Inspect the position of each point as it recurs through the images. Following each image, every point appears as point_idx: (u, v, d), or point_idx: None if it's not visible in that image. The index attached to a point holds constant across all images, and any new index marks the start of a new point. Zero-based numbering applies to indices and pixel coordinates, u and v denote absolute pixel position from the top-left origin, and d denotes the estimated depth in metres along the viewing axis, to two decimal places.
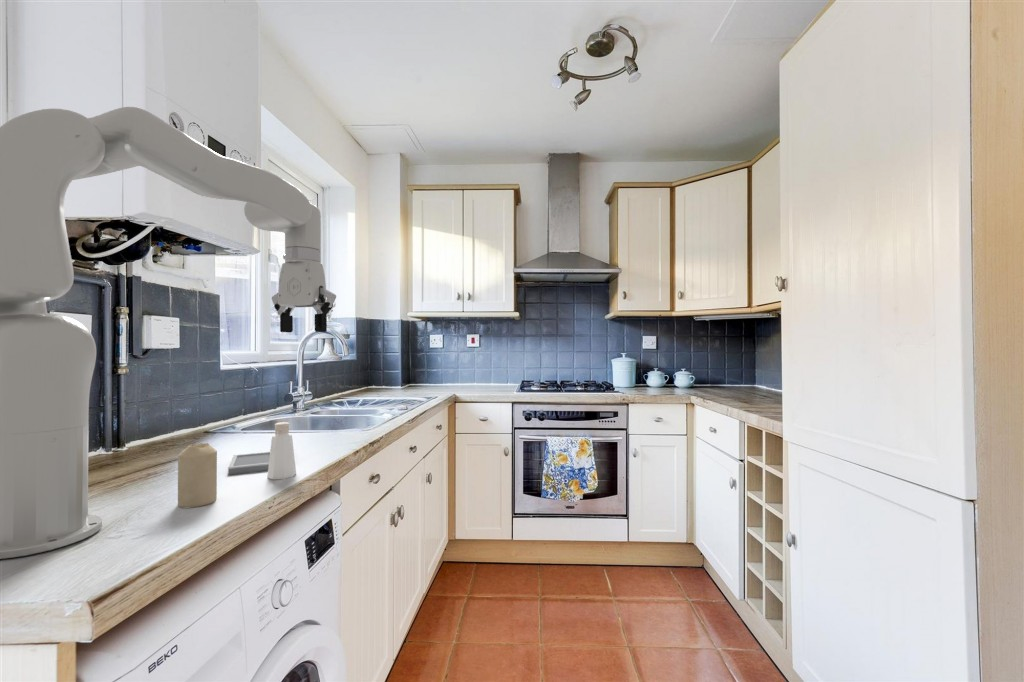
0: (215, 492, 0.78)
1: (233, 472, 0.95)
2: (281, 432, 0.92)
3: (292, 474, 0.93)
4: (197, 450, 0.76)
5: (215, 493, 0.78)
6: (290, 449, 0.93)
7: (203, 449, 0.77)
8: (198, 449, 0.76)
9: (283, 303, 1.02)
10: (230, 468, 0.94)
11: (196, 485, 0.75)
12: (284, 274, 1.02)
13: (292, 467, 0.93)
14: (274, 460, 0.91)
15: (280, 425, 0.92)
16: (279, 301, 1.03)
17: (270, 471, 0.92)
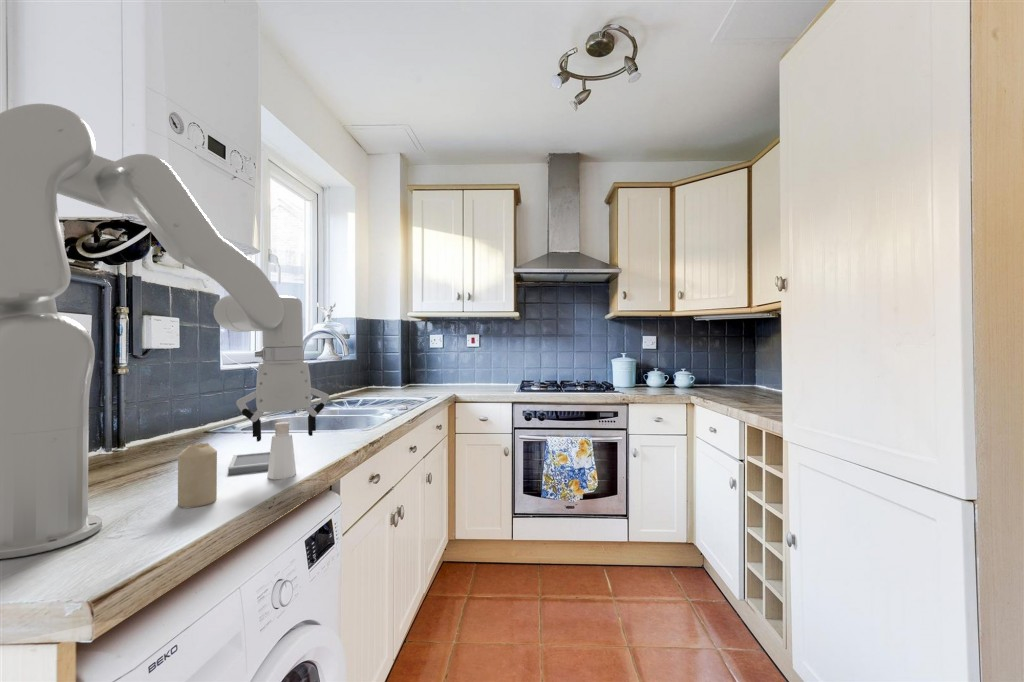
0: (215, 492, 0.78)
1: (233, 472, 0.95)
2: (281, 432, 0.92)
3: (292, 474, 0.93)
4: (197, 450, 0.76)
5: (215, 493, 0.78)
6: (290, 449, 0.93)
7: (203, 449, 0.77)
8: (198, 449, 0.76)
9: (268, 409, 0.90)
10: (230, 468, 0.94)
11: (196, 485, 0.75)
12: (268, 376, 0.90)
13: (292, 467, 0.93)
14: (274, 460, 0.91)
15: (280, 425, 0.92)
16: (260, 407, 0.90)
17: (270, 471, 0.92)
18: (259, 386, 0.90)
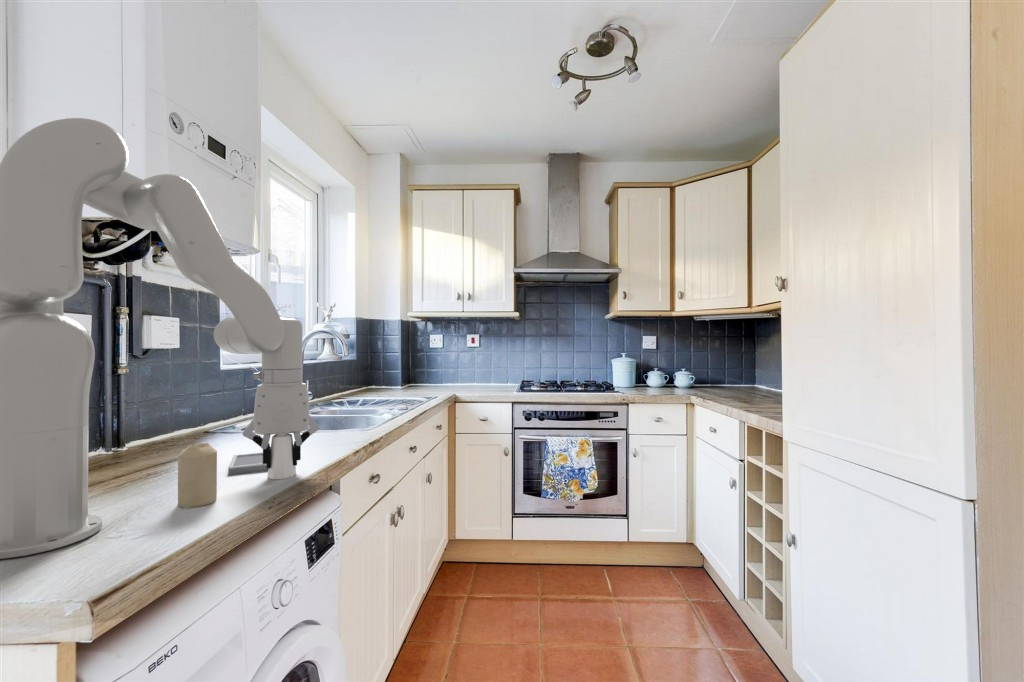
0: (215, 492, 0.78)
1: (233, 472, 0.95)
2: None
3: (292, 474, 0.93)
4: (197, 450, 0.76)
5: (215, 493, 0.78)
6: (290, 449, 0.93)
7: (203, 449, 0.77)
8: (198, 449, 0.76)
9: (265, 432, 0.90)
10: (230, 468, 0.94)
11: (196, 485, 0.75)
12: (266, 399, 0.90)
13: (292, 467, 0.93)
14: (274, 460, 0.91)
15: None
16: (258, 430, 0.89)
17: (270, 471, 0.92)
18: (257, 408, 0.89)
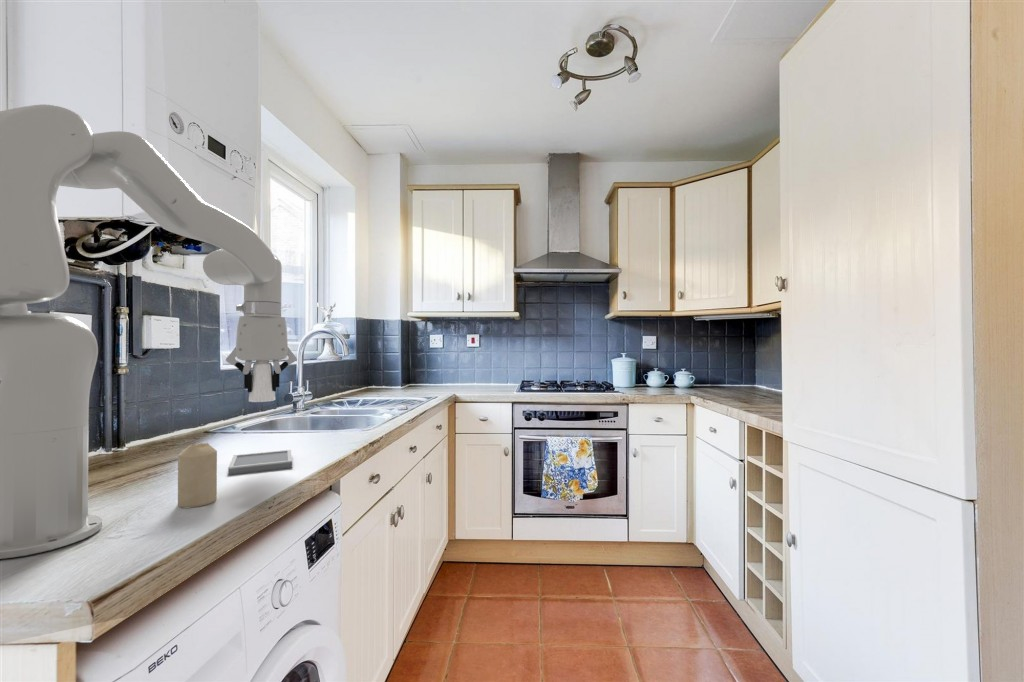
0: (215, 492, 0.78)
1: (233, 472, 0.95)
2: None
3: (271, 398, 1.02)
4: (197, 450, 0.76)
5: (215, 493, 0.78)
6: (270, 376, 1.02)
7: (203, 449, 0.77)
8: (198, 449, 0.76)
9: (246, 358, 0.99)
10: (230, 468, 0.94)
11: (196, 485, 0.75)
12: (247, 328, 0.99)
13: (271, 392, 1.02)
14: (254, 384, 1.00)
15: None
16: (239, 355, 0.98)
17: (251, 395, 1.00)
18: (239, 336, 0.98)
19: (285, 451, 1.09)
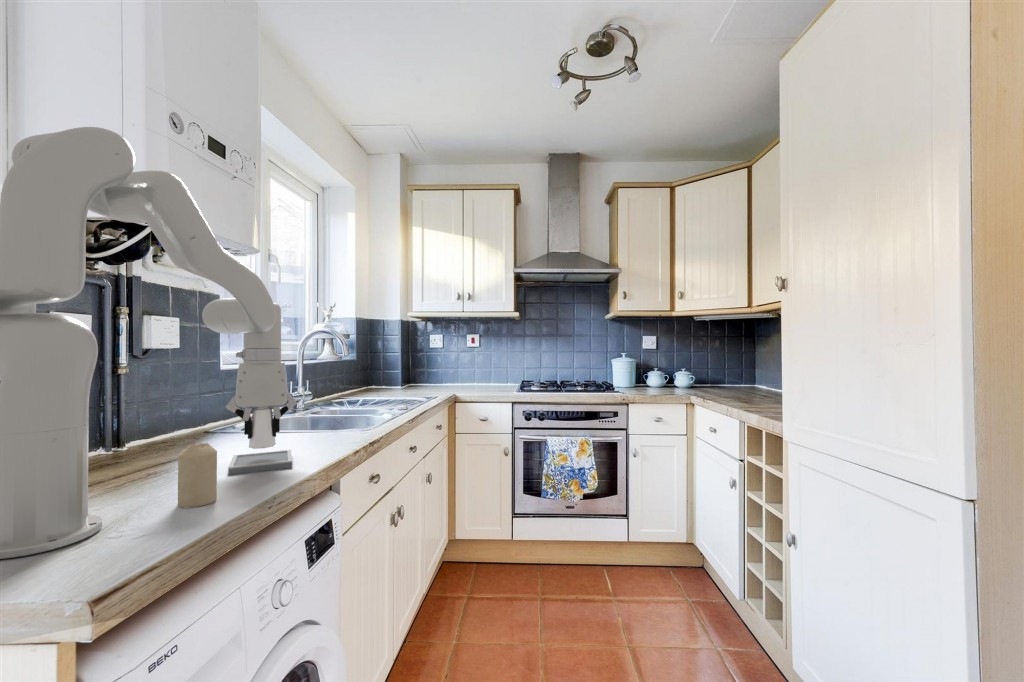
0: (215, 492, 0.78)
1: (233, 472, 0.95)
2: None
3: (271, 444, 1.02)
4: (197, 450, 0.76)
5: (215, 493, 0.78)
6: (270, 421, 1.02)
7: (203, 449, 0.77)
8: (198, 449, 0.76)
9: (246, 405, 0.99)
10: (230, 468, 0.94)
11: (196, 485, 0.75)
12: (247, 375, 0.99)
13: (272, 438, 1.02)
14: (254, 431, 1.00)
15: None
16: (239, 403, 0.98)
17: (251, 441, 1.00)
18: (239, 384, 0.98)
19: (285, 451, 1.09)
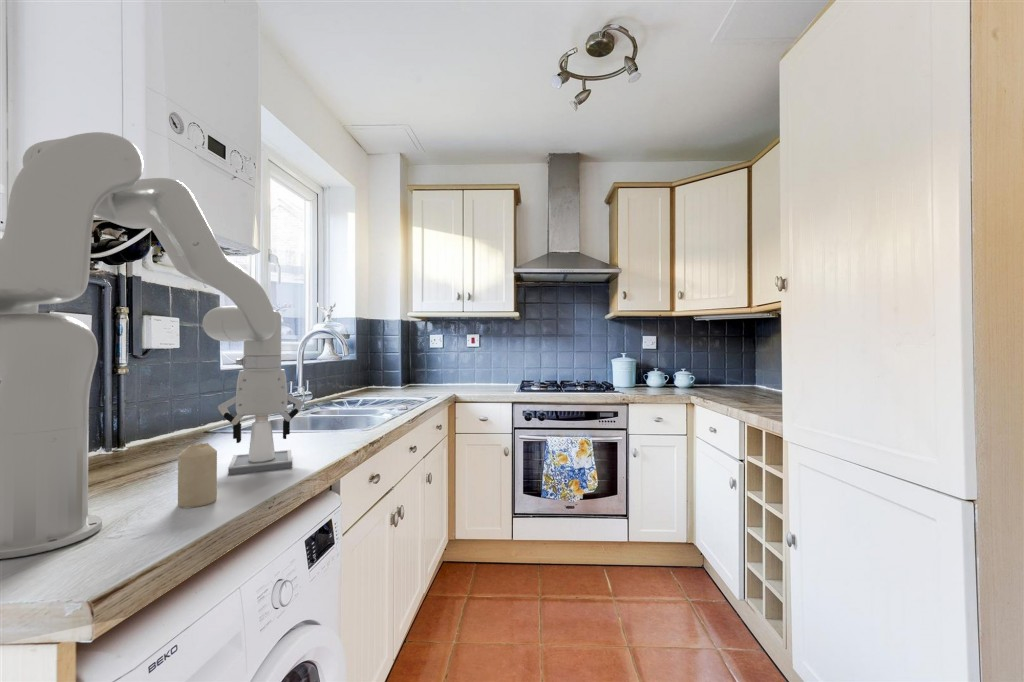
0: (215, 492, 0.78)
1: (233, 472, 0.95)
2: (260, 419, 1.01)
3: (271, 457, 1.02)
4: (197, 450, 0.76)
5: (215, 493, 0.78)
6: (269, 434, 1.02)
7: (203, 449, 0.77)
8: (198, 449, 0.76)
9: (246, 413, 0.99)
10: (230, 468, 0.94)
11: (196, 485, 0.75)
12: (247, 382, 0.99)
13: (271, 451, 1.02)
14: (254, 444, 1.00)
15: None
16: (239, 411, 0.98)
17: (250, 454, 1.00)
18: (239, 391, 0.98)
19: (285, 451, 1.09)
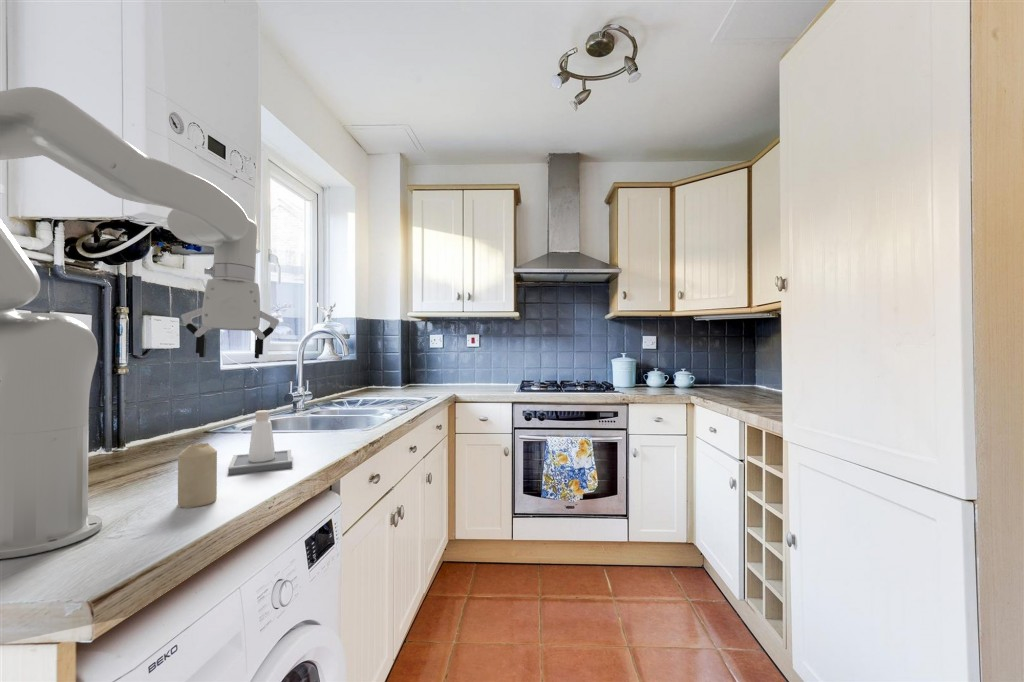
0: (215, 492, 0.78)
1: (233, 472, 0.95)
2: (261, 419, 1.01)
3: (271, 457, 1.02)
4: (197, 450, 0.76)
5: (215, 493, 0.78)
6: (269, 435, 1.02)
7: (203, 449, 0.77)
8: (198, 449, 0.76)
9: (212, 324, 0.90)
10: (230, 468, 0.94)
11: (196, 485, 0.75)
12: (215, 292, 0.90)
13: (271, 451, 1.02)
14: (254, 444, 1.00)
15: (260, 413, 1.01)
16: (205, 322, 0.89)
17: (250, 454, 1.00)
18: (205, 300, 0.90)
19: (285, 451, 1.09)
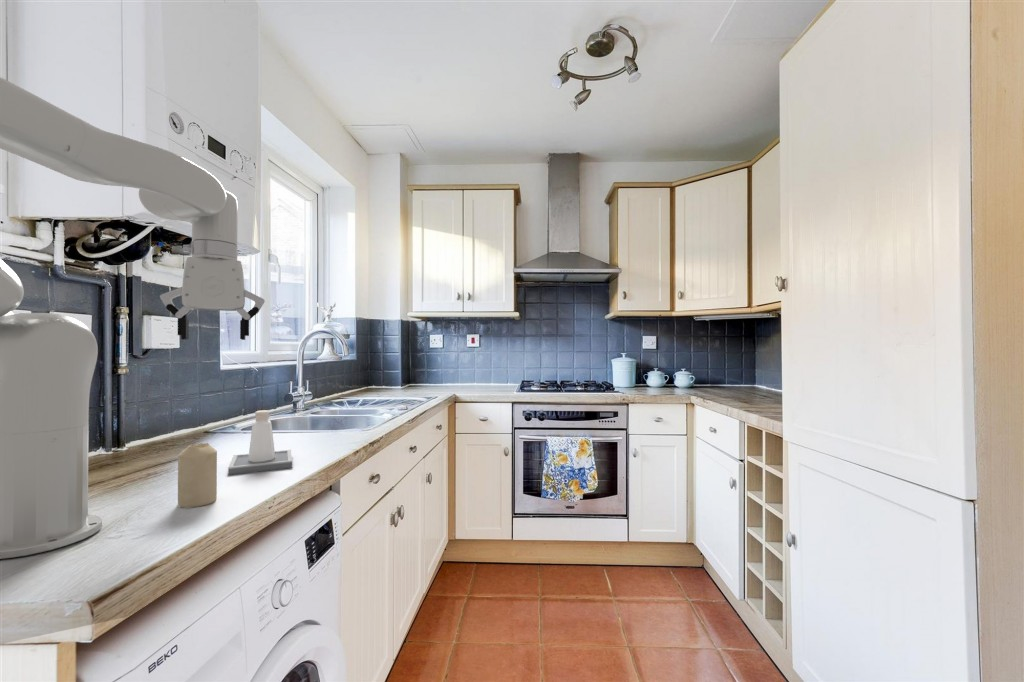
0: (215, 492, 0.78)
1: (233, 472, 0.95)
2: (261, 419, 1.01)
3: (271, 457, 1.02)
4: (197, 450, 0.76)
5: (215, 493, 0.78)
6: (269, 435, 1.02)
7: (203, 449, 0.77)
8: (198, 449, 0.76)
9: (194, 305, 0.85)
10: (230, 468, 0.94)
11: (196, 485, 0.75)
12: (195, 270, 0.86)
13: (271, 451, 1.02)
14: (254, 444, 1.00)
15: (260, 413, 1.01)
16: (186, 302, 0.85)
17: (250, 455, 1.00)
18: (185, 280, 0.85)
19: (285, 451, 1.09)
